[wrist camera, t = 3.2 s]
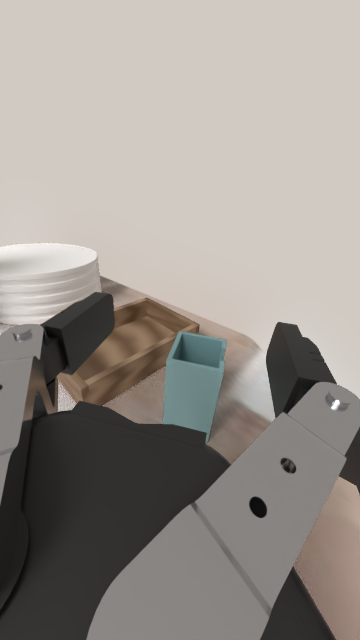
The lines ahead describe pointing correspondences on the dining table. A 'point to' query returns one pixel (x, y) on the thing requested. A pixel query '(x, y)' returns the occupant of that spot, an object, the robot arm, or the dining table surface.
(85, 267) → the plate stack
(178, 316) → the tray
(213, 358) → the teal open box
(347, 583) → the dining table surface
